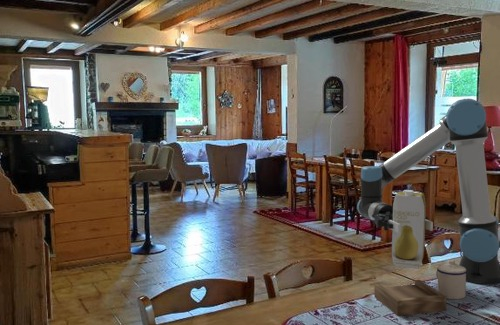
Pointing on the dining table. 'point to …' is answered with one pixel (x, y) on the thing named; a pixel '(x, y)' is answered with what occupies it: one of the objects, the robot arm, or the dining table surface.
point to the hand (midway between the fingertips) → (415, 227)
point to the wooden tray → (410, 298)
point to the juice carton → (409, 229)
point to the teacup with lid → (451, 280)
